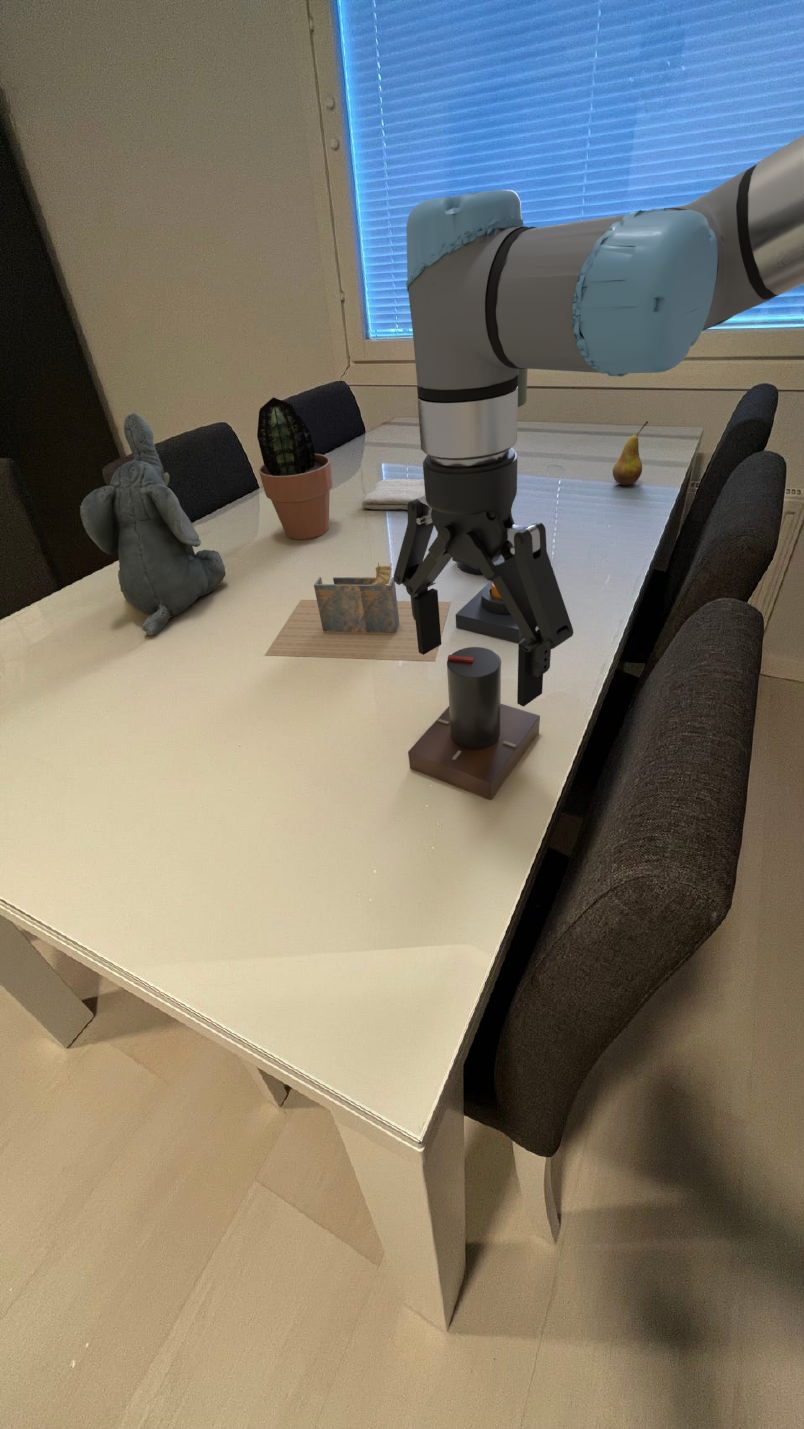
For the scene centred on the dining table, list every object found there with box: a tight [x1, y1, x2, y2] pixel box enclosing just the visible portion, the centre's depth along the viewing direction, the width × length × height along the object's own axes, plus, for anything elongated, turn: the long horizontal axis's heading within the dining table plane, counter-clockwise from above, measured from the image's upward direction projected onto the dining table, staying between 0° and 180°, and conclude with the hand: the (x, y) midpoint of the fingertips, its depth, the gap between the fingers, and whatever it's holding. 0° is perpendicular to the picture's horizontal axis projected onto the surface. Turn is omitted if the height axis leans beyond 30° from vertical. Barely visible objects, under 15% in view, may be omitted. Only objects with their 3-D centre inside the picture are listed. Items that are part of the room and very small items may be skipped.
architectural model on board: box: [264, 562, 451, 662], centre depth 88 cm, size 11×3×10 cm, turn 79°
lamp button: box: [492, 582, 502, 599], centre depth 87 cm, size 4×4×2 cm
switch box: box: [455, 581, 524, 644], centre depth 88 cm, size 10×12×4 cm
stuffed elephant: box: [79, 412, 226, 637], centre depth 96 cm, size 19×21×27 cm
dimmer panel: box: [407, 703, 541, 801], centre depth 67 cm, size 10×12×3 cm
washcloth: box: [361, 478, 425, 511], centre depth 129 cm, size 12×18×3 cm, turn 74°
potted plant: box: [256, 396, 334, 540], centre depth 115 cm, size 14×14×25 cm
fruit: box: [612, 420, 649, 486], centre depth 123 cm, size 6×6×12 cm
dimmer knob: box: [446, 646, 502, 749], centre depth 63 cm, size 5×5×10 cm
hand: (476, 672), depth 61 cm, fingers open, 13 cm apart
